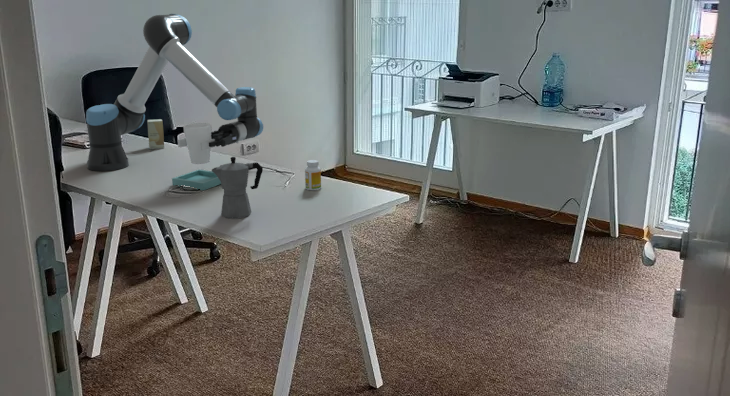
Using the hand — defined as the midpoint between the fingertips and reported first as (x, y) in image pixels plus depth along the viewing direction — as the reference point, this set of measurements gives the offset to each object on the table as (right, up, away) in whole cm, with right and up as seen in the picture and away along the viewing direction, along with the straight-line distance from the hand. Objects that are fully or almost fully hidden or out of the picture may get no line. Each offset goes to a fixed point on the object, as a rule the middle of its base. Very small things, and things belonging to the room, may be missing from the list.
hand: (190, 145), depth 235 cm
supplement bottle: (+42, -15, +1) cm, 45 cm away
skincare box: (-30, +3, +62) cm, 69 cm away
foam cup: (+2, -6, +6) cm, 8 cm away
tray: (+2, -13, +8) cm, 15 cm away
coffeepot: (+22, -23, -25) cm, 41 cm away
